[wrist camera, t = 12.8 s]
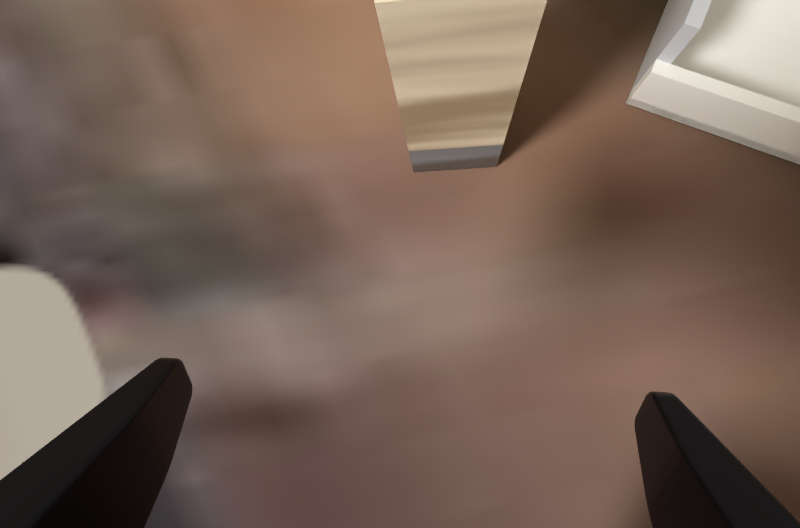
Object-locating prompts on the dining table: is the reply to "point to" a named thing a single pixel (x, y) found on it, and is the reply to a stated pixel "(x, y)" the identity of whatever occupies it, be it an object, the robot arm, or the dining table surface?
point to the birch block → (457, 74)
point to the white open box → (727, 71)
